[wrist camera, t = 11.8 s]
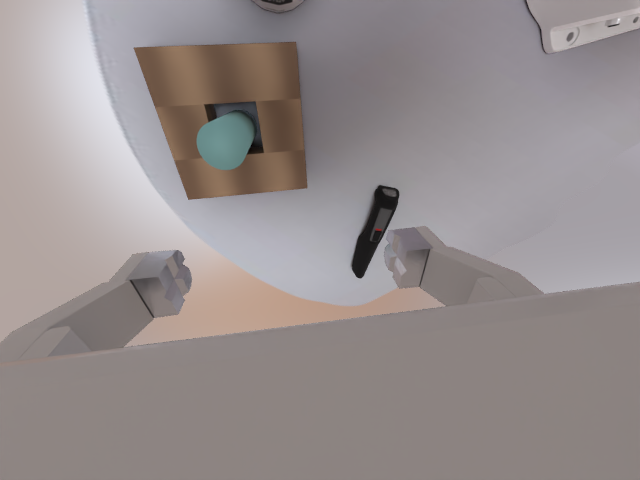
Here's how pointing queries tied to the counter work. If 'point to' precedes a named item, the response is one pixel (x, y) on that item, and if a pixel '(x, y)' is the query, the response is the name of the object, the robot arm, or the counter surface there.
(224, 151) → the peg
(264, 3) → the supplement can
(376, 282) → the counter surface
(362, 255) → the electric trimmer
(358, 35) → the counter surface
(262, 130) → the socket block
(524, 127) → the counter surface
